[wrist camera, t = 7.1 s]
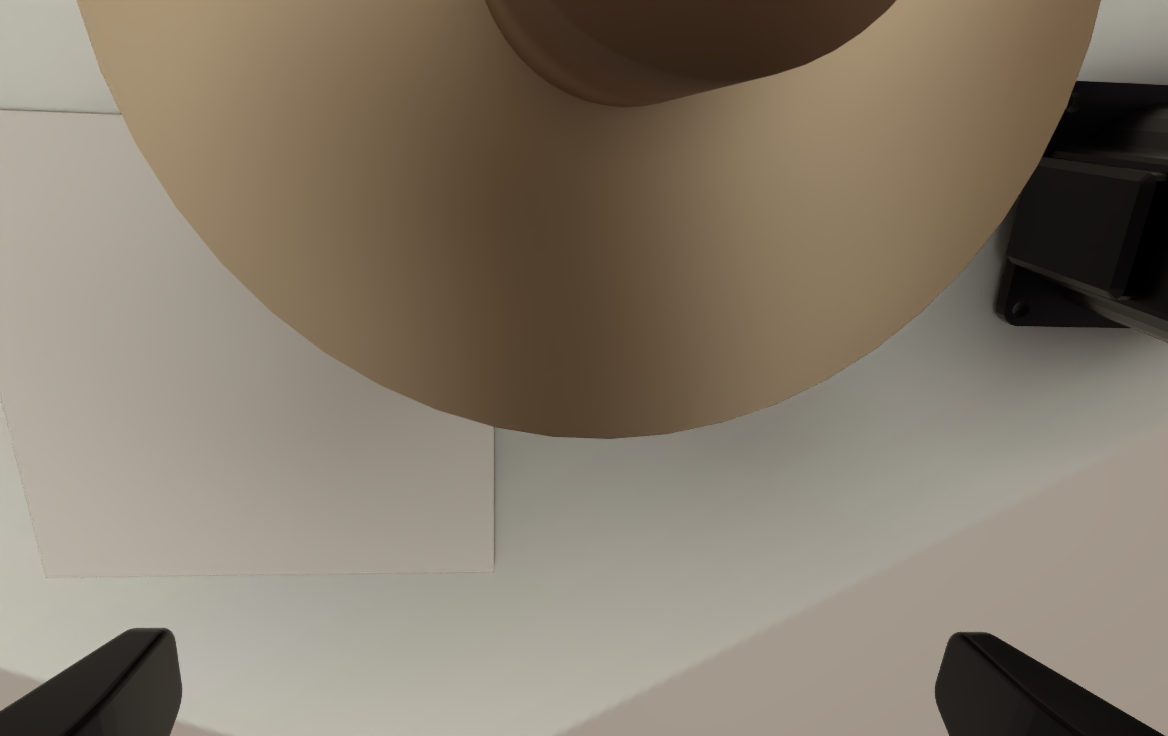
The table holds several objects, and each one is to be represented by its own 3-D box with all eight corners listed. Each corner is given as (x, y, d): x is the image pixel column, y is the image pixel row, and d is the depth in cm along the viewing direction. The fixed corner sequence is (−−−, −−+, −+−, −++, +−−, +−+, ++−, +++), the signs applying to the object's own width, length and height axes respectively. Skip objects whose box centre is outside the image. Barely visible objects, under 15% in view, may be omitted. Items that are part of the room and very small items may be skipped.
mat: (494, 128, 19) (493, 129, 19) (494, 564, 24) (493, 572, 23) (-60, 106, 18) (-72, 107, 17) (53, 569, 22) (45, 577, 22)
